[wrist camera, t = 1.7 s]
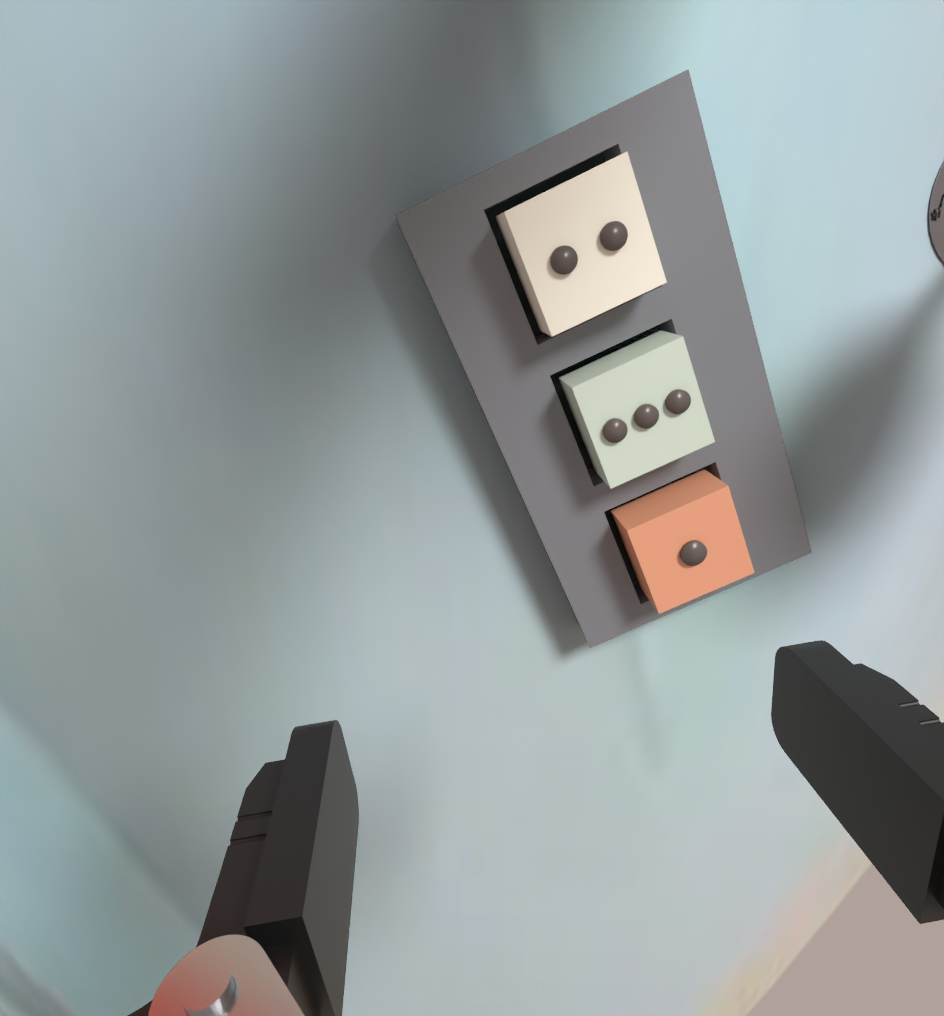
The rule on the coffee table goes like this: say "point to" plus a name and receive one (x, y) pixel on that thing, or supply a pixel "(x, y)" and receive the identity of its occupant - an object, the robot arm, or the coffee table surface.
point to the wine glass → (937, 214)
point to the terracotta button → (684, 540)
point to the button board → (672, 306)
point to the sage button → (638, 407)
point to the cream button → (583, 246)
